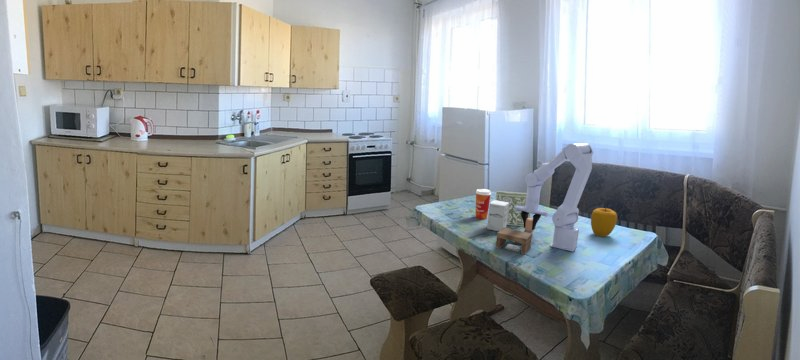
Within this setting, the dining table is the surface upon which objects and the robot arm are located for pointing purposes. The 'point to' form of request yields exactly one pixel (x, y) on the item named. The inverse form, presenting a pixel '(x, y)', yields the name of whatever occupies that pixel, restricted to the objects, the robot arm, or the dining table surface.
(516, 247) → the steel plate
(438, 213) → the dining table surface
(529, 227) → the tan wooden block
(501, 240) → the walnut shelf
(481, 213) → the paper cup
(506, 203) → the supplement box
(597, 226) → the apple
